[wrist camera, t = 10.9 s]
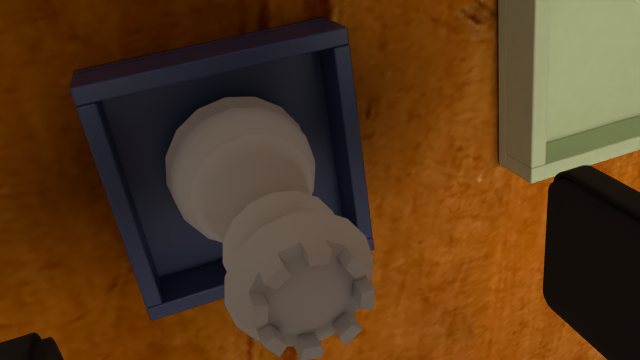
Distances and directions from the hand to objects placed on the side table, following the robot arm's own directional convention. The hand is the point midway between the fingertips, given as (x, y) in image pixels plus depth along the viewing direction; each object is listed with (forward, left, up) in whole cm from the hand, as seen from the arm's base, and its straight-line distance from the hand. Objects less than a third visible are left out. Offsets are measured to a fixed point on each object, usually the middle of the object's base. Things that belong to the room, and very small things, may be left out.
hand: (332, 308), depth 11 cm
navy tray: (0, 0, -9) cm, 9 cm away
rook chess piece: (0, 0, -9) cm, 9 cm away
